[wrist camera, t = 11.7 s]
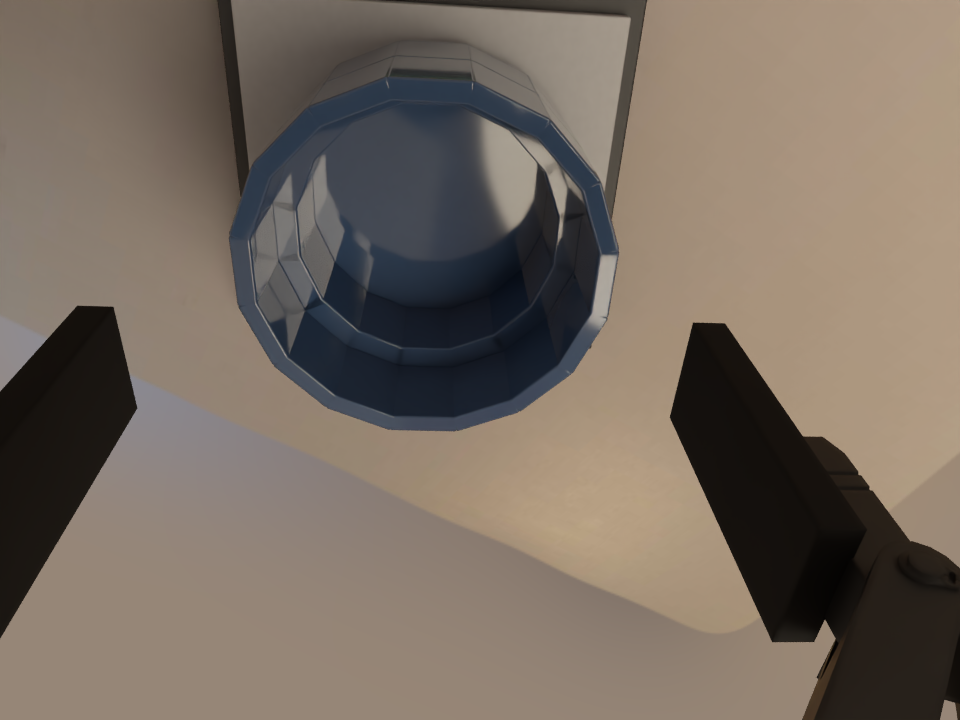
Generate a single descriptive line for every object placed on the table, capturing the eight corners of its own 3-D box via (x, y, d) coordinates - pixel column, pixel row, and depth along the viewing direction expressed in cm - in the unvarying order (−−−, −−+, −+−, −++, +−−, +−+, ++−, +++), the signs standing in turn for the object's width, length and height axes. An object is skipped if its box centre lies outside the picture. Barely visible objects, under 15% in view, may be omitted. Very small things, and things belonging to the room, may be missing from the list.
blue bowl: (265, 29, 24) (205, 66, 18) (598, 47, 25) (647, 90, 19) (291, 325, 30) (253, 427, 24) (560, 333, 31) (588, 435, 25)
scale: (227, -71, 25) (203, -70, 22) (637, -45, 26) (658, -40, 23) (268, 313, 33) (253, 346, 30) (582, 323, 34) (593, 356, 31)
